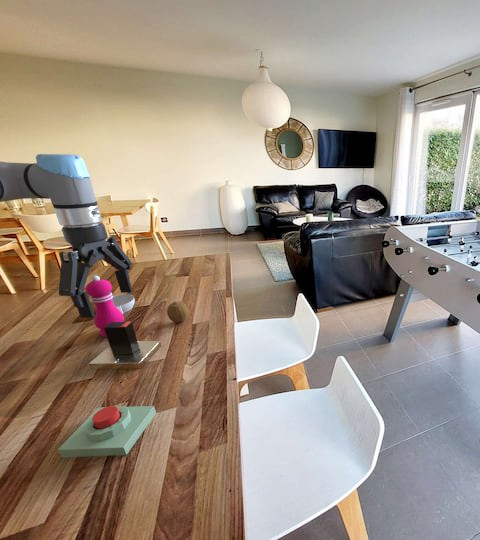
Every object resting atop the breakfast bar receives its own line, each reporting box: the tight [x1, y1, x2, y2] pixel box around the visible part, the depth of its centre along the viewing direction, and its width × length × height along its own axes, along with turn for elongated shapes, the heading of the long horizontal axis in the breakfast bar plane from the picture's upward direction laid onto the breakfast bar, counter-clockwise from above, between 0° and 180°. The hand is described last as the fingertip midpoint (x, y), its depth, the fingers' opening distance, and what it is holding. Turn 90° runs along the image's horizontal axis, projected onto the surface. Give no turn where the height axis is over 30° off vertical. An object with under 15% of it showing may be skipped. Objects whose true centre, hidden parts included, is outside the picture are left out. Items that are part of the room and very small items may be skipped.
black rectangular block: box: [104, 320, 139, 354], centre depth 80 cm, size 6×3×9 cm, turn 94°
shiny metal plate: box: [88, 340, 162, 370], centre depth 82 cm, size 13×10×2 cm
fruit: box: [166, 300, 189, 323], centre depth 99 cm, size 6×6×8 cm
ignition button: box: [92, 405, 120, 429], centre depth 59 cm, size 4×4×2 cm
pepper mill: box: [85, 275, 125, 338], centre depth 90 cm, size 7×7×20 cm
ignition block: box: [57, 405, 157, 458], centre depth 60 cm, size 12×10×4 cm
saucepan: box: [112, 293, 136, 315], centre depth 104 cm, size 11×18×4 cm, turn 45°
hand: (109, 303), depth 75 cm, fingers open, 13 cm apart
